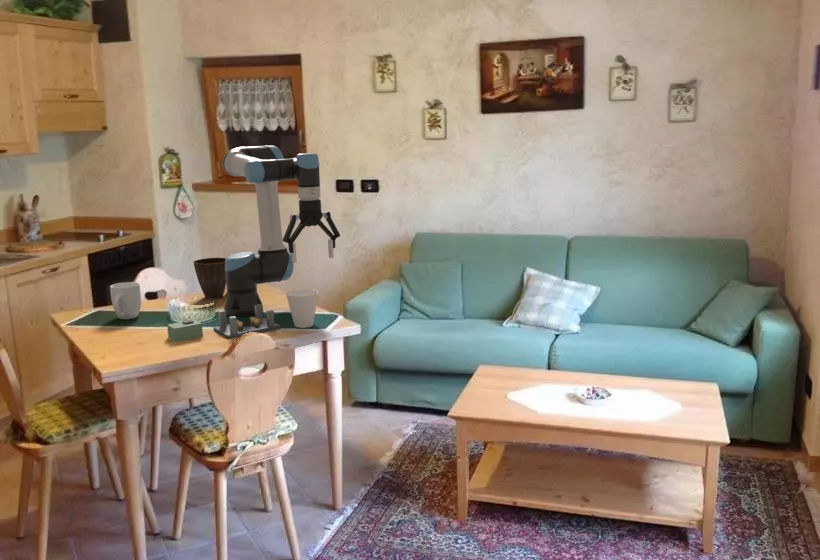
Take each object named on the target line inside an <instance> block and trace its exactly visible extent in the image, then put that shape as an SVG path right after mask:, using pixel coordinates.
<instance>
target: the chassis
mask: <svg viewBox="0 0 820 560" xmlns="http://www.w3.org/2000/svg"><path fill="white" fill-rule="evenodd" d="M262 305H263V304H262ZM262 305H260V304H258V305H254V307H255V314H254V316H250V317H249V319H250V320H246V321H240V320H239V319H237V317H238V316H229V317H228V320H229V321H228V322H229V324H227V315H226V312H225V311H224V309H223V310H217V313H218V324H219V325H218V326H213V331H215V332H216V333H218V334H219V335H221V336H223V337H224V338H225V339H233V338H239V337H242V336H241V335H243V334H245V333H249V332H261V333H266V332H270V331H275V330H280V329H281V325H279V324H278V323H275V314H274V313H275V312H274V310H272V309H269V310H268V309H267V310H266V311H265V314H266V317H263V311H262Z"/></svg>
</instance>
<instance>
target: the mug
mask: <svg viewBox="0 0 820 560" xmlns="http://www.w3.org/2000/svg"><path fill="white" fill-rule="evenodd" d="M109 289H110V292H109V293H110V299H111V303H112V307H113V310H114V312H115V314H116V316H117V317H118V318H119V319H120V320H130V319H135V318H137V317H138V316H139V313H140V311H141V307H142V306H141V305H142V295H141V285H140V283H139V282H136V281H135V282H134V281H130V282H128V281H126V282H117V283H114V284H112V285H110V286H109Z"/></svg>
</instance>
